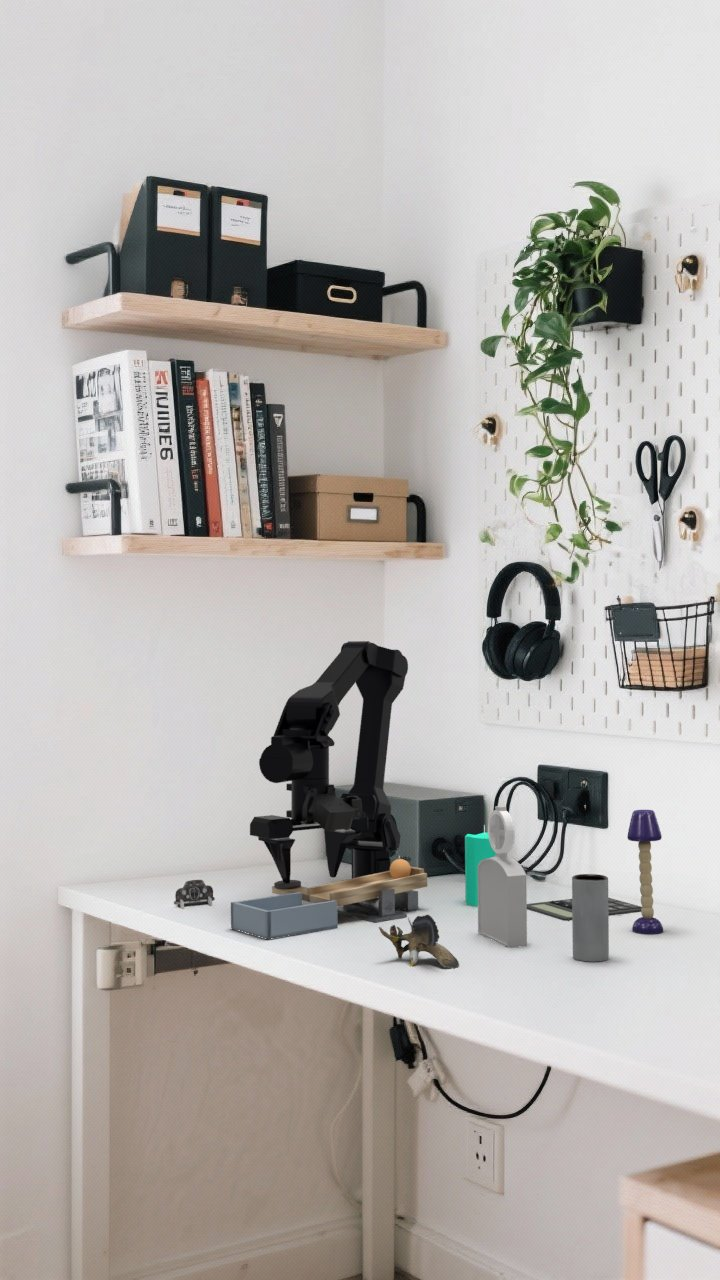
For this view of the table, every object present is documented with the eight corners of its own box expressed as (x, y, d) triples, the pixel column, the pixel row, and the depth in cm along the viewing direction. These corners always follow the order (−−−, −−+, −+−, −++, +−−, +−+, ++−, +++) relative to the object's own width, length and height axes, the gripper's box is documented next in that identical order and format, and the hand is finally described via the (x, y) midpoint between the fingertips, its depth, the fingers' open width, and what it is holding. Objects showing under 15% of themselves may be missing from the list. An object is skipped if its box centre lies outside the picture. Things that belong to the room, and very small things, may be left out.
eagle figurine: (372, 958, 171) (434, 953, 166) (382, 904, 175) (442, 898, 170) (405, 981, 176) (465, 976, 171) (413, 928, 180) (472, 923, 175)
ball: (385, 880, 208) (384, 859, 208) (401, 877, 210) (401, 856, 210) (399, 883, 205) (398, 862, 205) (415, 880, 207) (414, 858, 207)
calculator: (648, 907, 205) (565, 917, 198) (648, 913, 205) (565, 923, 198) (601, 894, 215) (520, 903, 208) (601, 900, 215) (520, 909, 208)
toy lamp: (625, 932, 189) (624, 811, 189) (631, 926, 194) (630, 807, 194) (661, 935, 188) (660, 813, 188) (665, 928, 192) (664, 809, 192)
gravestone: (508, 947, 181) (507, 811, 181) (478, 933, 190) (476, 803, 190) (526, 946, 182) (525, 810, 182) (496, 931, 191) (494, 802, 191)
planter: (600, 963, 172) (600, 881, 172) (567, 959, 174) (566, 878, 174) (614, 956, 176) (613, 875, 176) (581, 952, 178) (580, 872, 178)
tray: (231, 929, 194) (230, 902, 194) (299, 917, 201) (299, 892, 201) (267, 939, 187) (267, 912, 187) (337, 927, 194) (337, 900, 194)
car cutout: (181, 915, 207) (180, 885, 207) (166, 907, 213) (166, 878, 213) (272, 905, 214) (272, 876, 214) (255, 898, 220) (255, 870, 220)
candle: (504, 899, 214) (503, 822, 214) (504, 907, 208) (504, 827, 208) (465, 899, 215) (465, 822, 215) (465, 906, 209) (464, 827, 209)
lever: (365, 873, 219) (364, 857, 219) (427, 886, 207) (426, 869, 207) (269, 893, 207) (268, 876, 207) (329, 908, 195) (329, 890, 195)
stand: (387, 902, 213) (387, 875, 213) (432, 912, 205) (432, 884, 205) (331, 911, 206) (330, 883, 206) (375, 922, 198) (374, 893, 198)
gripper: (291, 785, 197) (291, 894, 197) (391, 778, 209) (390, 880, 209) (247, 779, 206) (247, 883, 206) (346, 772, 218) (345, 871, 218)
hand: (310, 880), depth 209 cm, fingers open, 8 cm apart
